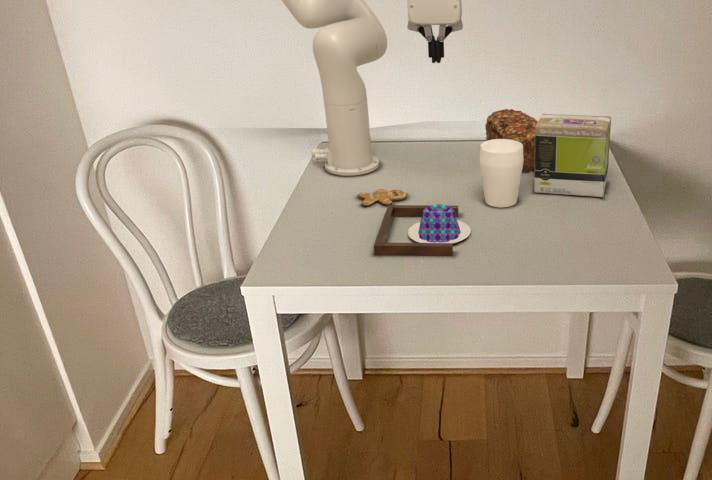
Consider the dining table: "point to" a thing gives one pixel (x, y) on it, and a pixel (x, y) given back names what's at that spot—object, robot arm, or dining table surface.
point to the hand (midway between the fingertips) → (436, 61)
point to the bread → (514, 132)
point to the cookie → (382, 196)
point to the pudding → (439, 226)
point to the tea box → (571, 154)
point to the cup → (501, 171)
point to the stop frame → (408, 248)
